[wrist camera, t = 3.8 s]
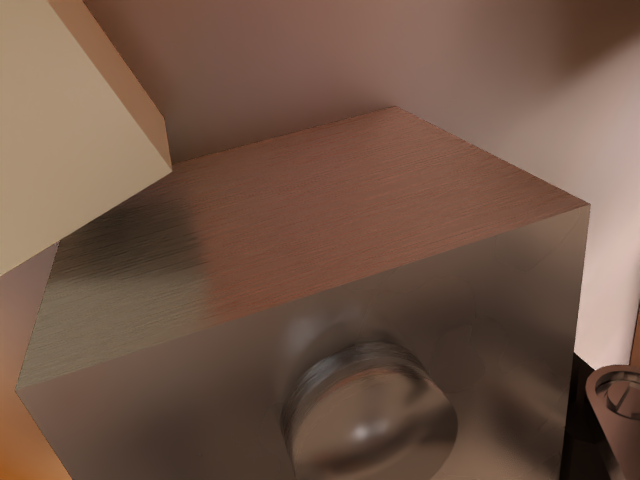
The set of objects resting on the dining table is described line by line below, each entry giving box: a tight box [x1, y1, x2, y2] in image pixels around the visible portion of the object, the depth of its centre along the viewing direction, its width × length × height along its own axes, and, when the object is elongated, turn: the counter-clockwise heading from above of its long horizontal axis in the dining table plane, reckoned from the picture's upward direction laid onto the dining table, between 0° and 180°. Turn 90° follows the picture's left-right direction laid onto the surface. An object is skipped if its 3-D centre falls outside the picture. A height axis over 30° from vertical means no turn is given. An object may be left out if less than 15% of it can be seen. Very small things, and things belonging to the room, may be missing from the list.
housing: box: [15, 106, 591, 480], centre depth 9 cm, size 10×6×6 cm, turn 10°
